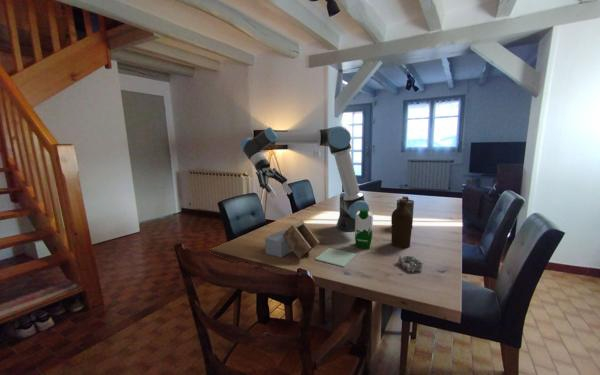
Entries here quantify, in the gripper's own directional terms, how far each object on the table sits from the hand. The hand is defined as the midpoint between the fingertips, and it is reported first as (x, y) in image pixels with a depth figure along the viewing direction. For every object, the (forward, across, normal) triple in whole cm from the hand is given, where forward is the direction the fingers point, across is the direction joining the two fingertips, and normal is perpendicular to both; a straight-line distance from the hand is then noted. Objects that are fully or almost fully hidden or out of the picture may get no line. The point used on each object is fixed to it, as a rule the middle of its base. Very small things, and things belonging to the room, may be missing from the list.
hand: (282, 195), depth 135 cm
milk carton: (+44, -26, +6) cm, 51 cm away
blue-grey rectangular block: (+21, 0, -20) cm, 29 cm away
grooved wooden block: (+29, 0, -12) cm, 31 cm away
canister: (+51, -68, +15) cm, 87 cm away
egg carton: (+62, -14, +24) cm, 68 cm away
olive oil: (+55, -37, +18) cm, 69 cm away
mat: (+40, -6, +1) cm, 40 cm away
